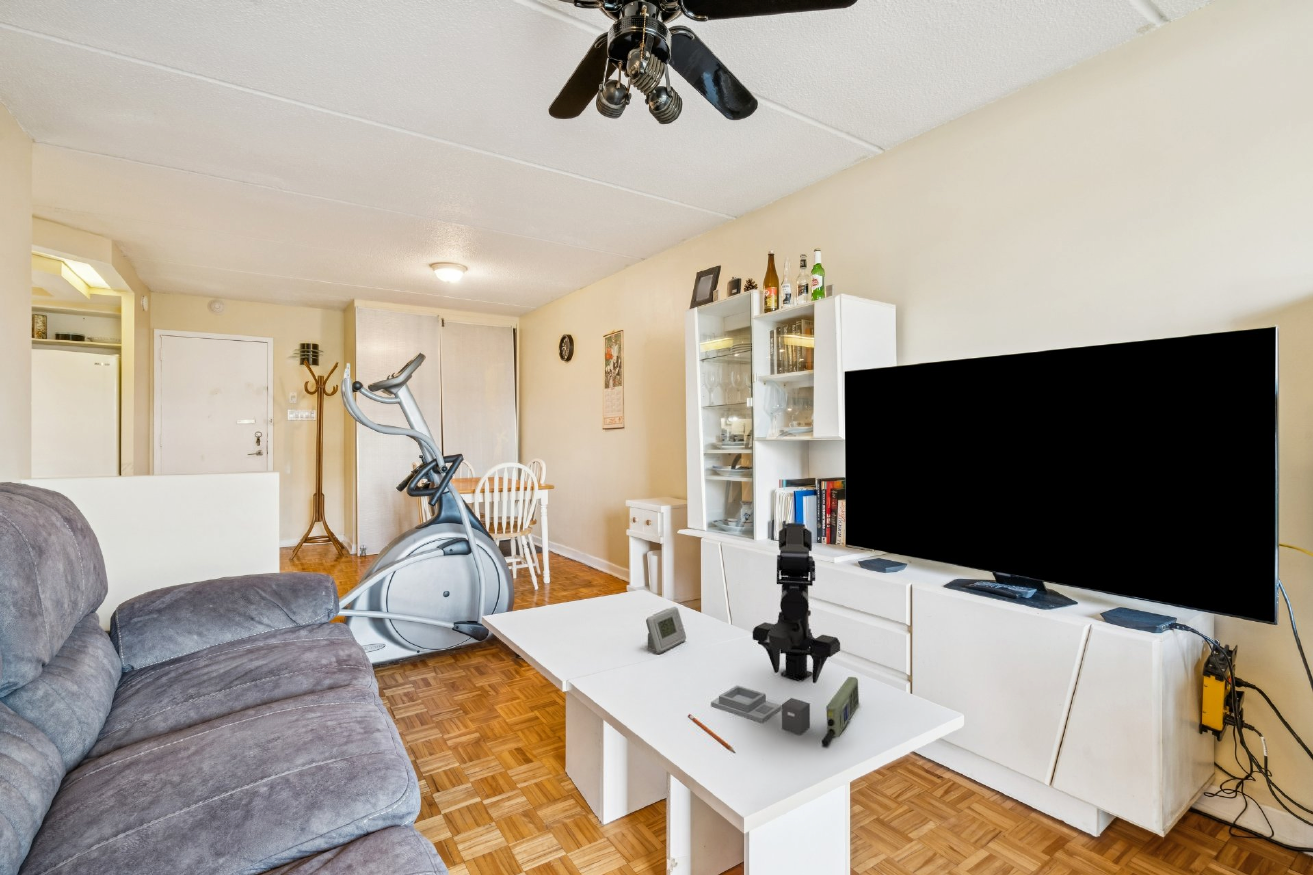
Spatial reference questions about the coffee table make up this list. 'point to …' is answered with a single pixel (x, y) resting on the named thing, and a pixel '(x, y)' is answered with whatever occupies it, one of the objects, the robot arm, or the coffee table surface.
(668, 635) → the digital clock
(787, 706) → the block
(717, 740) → the pencil
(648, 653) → the coffee table surface
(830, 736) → the handheld radio
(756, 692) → the grey charging dock
